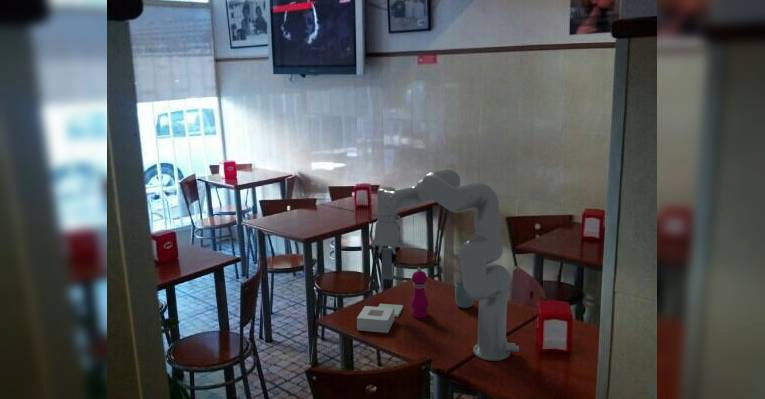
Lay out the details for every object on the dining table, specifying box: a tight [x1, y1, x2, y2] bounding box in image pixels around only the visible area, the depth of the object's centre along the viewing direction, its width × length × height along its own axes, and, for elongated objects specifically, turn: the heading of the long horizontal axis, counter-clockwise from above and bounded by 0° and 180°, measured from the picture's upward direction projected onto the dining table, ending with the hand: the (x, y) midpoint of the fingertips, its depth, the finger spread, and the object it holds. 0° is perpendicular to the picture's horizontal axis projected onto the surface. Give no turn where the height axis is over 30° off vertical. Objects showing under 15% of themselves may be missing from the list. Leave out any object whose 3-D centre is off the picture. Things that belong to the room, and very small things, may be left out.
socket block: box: [356, 305, 395, 334], centre depth 225 cm, size 12×12×5 cm
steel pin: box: [381, 247, 395, 280], centre depth 235 cm, size 4×4×12 cm
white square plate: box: [377, 303, 404, 318], centre depth 239 cm, size 10×10×1 cm
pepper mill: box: [410, 267, 429, 319], centre depth 233 cm, size 7×7×20 cm
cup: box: [454, 280, 475, 309], centre depth 241 cm, size 8×8×10 cm
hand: (387, 261), depth 234 cm, fingers closed on steel pin, 4 cm apart
